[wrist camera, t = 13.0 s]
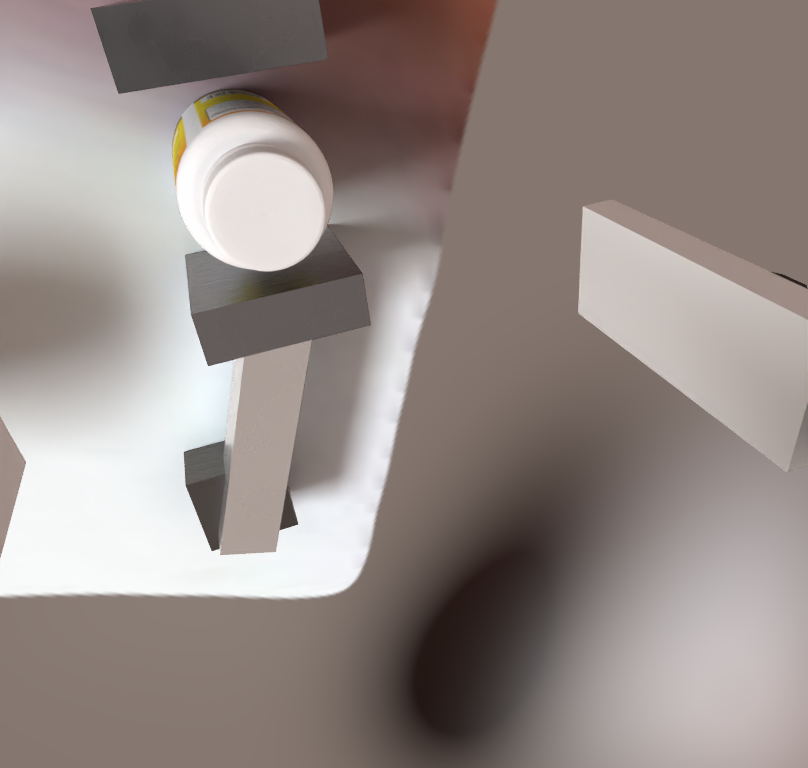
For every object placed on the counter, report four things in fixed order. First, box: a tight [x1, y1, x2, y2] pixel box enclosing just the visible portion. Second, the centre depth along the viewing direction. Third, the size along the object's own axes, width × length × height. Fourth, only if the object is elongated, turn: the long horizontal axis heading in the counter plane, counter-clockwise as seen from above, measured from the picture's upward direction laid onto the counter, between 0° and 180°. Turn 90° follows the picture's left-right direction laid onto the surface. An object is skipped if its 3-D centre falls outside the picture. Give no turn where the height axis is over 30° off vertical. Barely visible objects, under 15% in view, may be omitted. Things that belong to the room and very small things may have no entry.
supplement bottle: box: [172, 89, 333, 271], centre depth 25 cm, size 6×6×10 cm
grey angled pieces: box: [91, 0, 371, 555], centre depth 26 cm, size 10×40×7 cm, turn 6°
